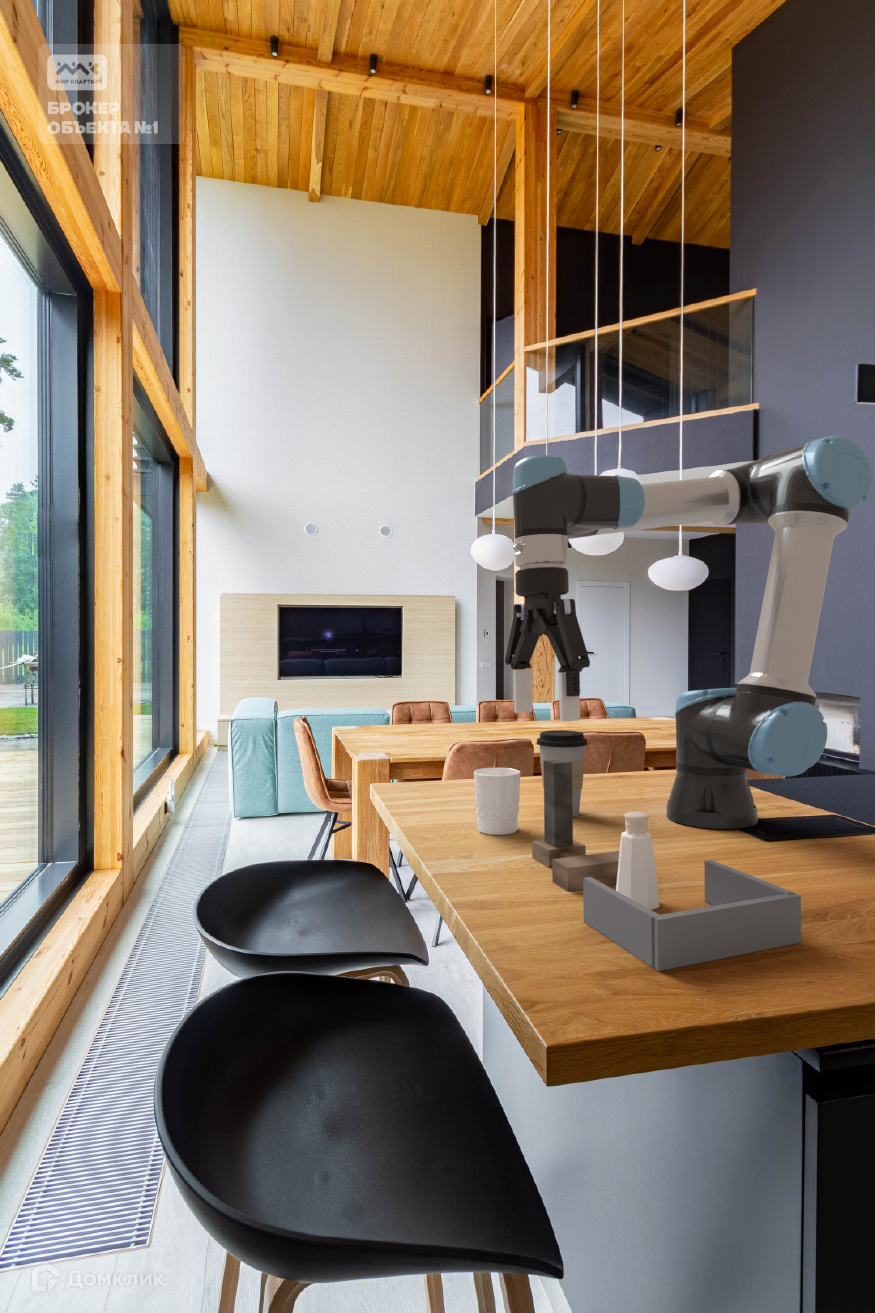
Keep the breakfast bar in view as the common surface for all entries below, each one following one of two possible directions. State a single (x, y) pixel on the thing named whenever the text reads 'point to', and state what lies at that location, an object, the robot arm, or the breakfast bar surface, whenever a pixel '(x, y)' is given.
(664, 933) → the box
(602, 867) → the block post with base
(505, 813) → the white cup
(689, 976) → the breakfast bar surface
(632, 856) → the salt shaker
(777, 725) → the robot arm
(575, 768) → the coffee cup
